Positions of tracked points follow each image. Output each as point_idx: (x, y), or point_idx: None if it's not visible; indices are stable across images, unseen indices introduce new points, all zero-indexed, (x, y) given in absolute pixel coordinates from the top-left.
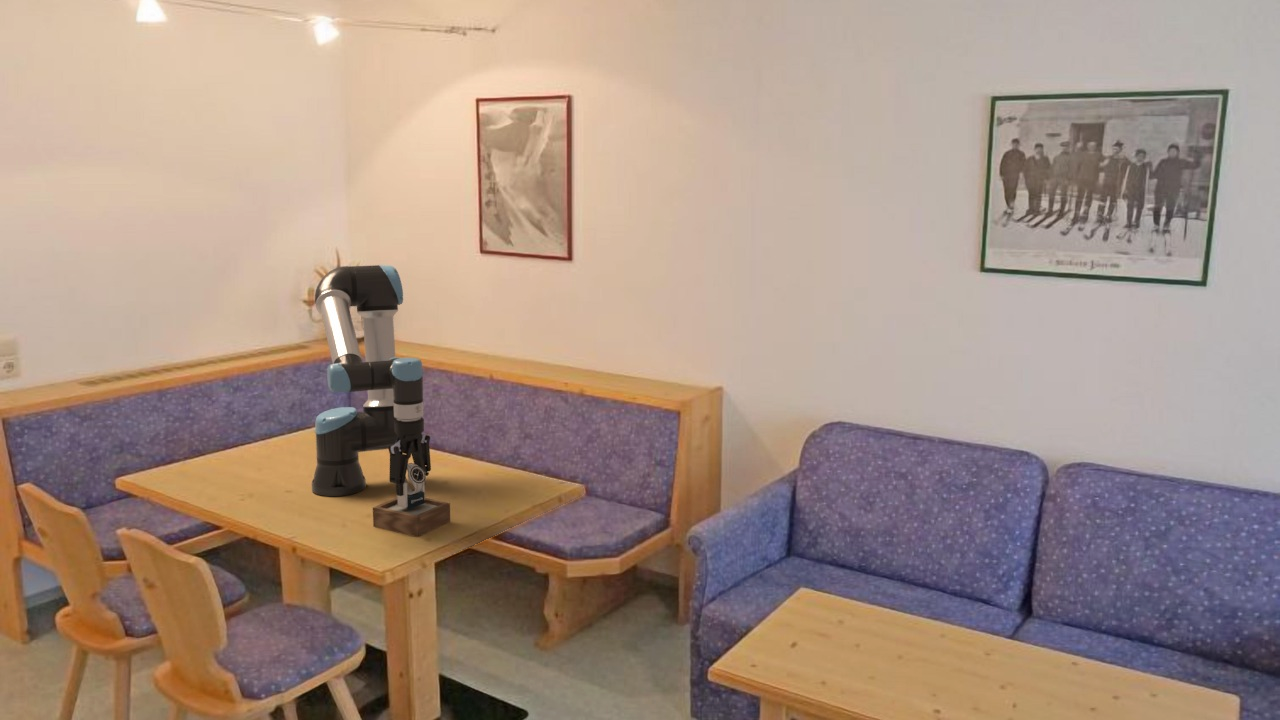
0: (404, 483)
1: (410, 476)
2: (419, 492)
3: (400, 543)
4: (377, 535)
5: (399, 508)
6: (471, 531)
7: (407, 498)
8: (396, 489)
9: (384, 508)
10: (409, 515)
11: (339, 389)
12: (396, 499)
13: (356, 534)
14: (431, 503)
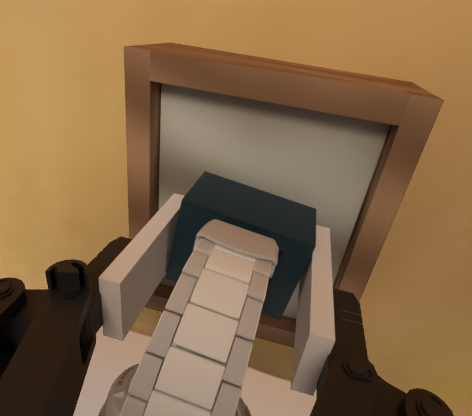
0: (108, 330)
1: (101, 411)
2: (264, 300)
3: (96, 231)
4: (105, 124)
5: (230, 163)
6: (269, 368)
7: (168, 269)
8: (93, 261)
9: (144, 124)
10: None
11: None
12: (304, 103)
13: (66, 32)
14: (338, 278)
